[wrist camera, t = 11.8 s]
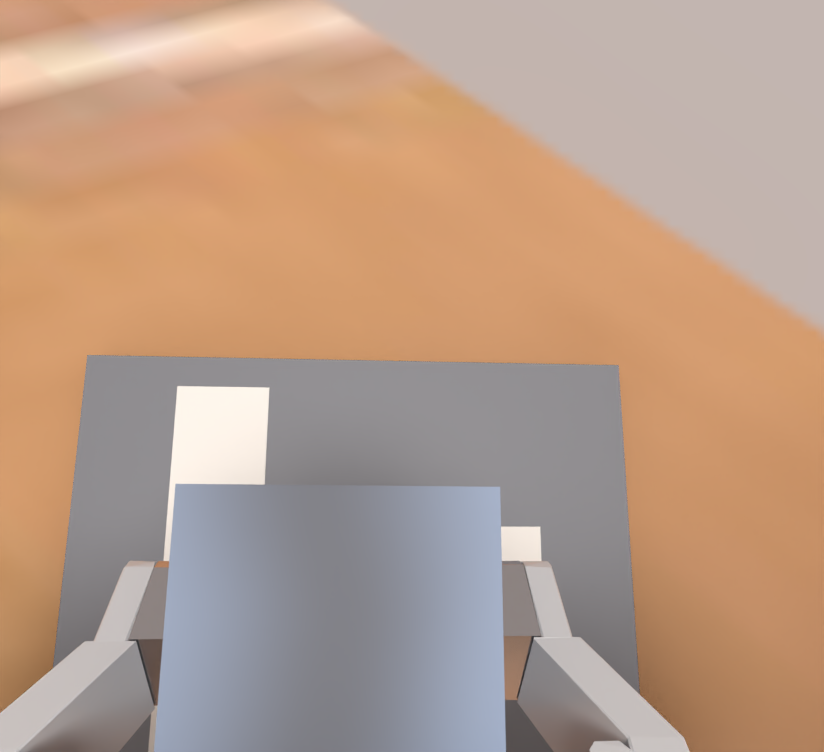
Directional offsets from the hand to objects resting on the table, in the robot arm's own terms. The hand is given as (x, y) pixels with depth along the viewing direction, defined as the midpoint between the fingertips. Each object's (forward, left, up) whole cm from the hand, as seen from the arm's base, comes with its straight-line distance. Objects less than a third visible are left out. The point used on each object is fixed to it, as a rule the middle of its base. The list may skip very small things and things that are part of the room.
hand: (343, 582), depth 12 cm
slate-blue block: (0, +1, -5) cm, 5 cm away
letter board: (0, +1, -10) cm, 10 cm away
